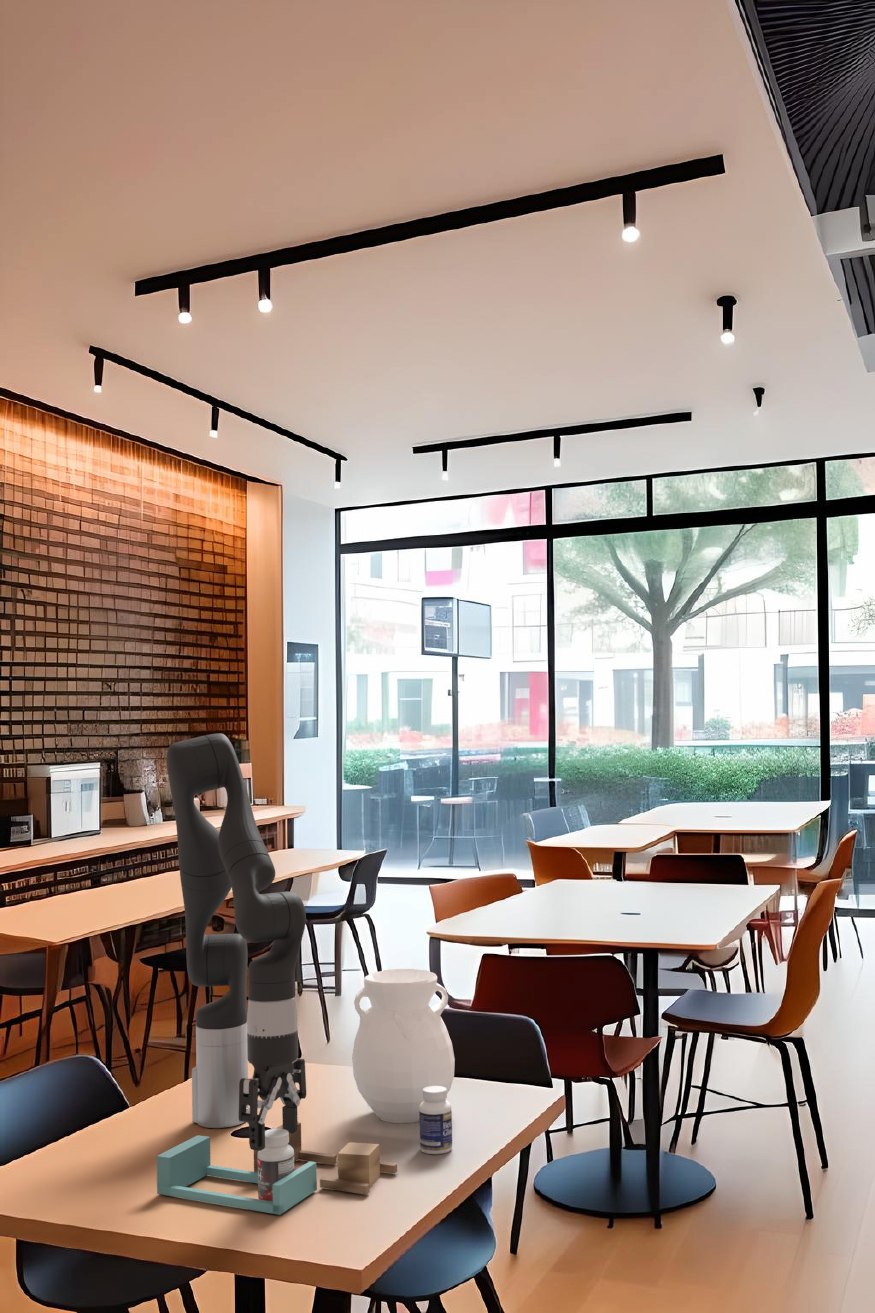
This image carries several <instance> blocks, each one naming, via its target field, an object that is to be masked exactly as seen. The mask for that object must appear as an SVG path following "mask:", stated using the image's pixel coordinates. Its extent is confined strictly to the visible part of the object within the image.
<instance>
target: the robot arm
mask: <svg viewBox="0 0 875 1313" xmlns="http://www.w3.org/2000/svg"><path fill="white" fill-rule="evenodd" d="M166 768H167V769H166V770H167V776H168V777H167V778H168V782H169V787H170V788H169V789H170V793H171V799H172V800H171V801H172V806H173V812H174V816H175V825H176V834H177V835H176V836H177V837H176V838H177V854H178V865H179V866H178V869H179V876H180V877H179V878H180V886H181V892H182V900H183V906H184V916H185V945H186V946H185V948H186V951H185V952H186V955H185V956H186V968H187V976H188V980H189V981H190V983H191V984H192V985H193V986H196V987H205V988H206V987H225V986H227V987H228V989H229V990H228V991H227V992H226V994H224V995H222V996H221V997H219V998H218V999H216V1000H214V1001H212V1002H211V1001H210V1002H209V1003H207V1004H204V1005H202V1006H200V1007H199V1008H198V1009H197V1010H196V1013H195V1043H196V1044H195V1049H196V1050H195V1051H196V1052H195V1053H196V1057H195V1058H196V1062H195V1064H196V1065H195V1066H194V1067H192V1069H191V1109H192V1110H191V1114H192V1119H191V1121H192V1122H191V1123H195V1124H197V1125H199V1126H200V1127H203V1128H207V1129H208V1128H212V1129H221V1128H231V1127H235V1126H239V1125H241V1124H243V1123H247V1124H248V1144H249V1148H250V1149H251V1150H253V1151H254V1150H258V1151H261V1150H263V1149H264V1148H265V1131H266V1129H265V1128H266V1127H265V1125H266V1124H265V1120H266V1117H267V1114H268V1111H269V1110H271V1109H272V1108H273V1105H274V1102H276V1101H277V1100H278V1099H280V1101H281V1102H282V1104H283V1106H282V1107H281V1108H282V1109H281V1110H282V1125H283V1129H285V1130H287V1131H288V1132H289V1133H295V1132H296V1131H297V1124H298V1123H299V1121H298V1107H299V1106H300V1104H301V1100H302V1099H306V1097H307V1079H306V1062H305V1061H306V1060H305V1059H304V1058H299V1027H298V1026H299V1024H298V1023H299V1022H298V1021H299V1020H298V1019H299V1018H298V1016H299V1015H298V1005H297V1001H296V1000H297V999H296V998H297V997H296V967H297V963H298V958H299V954H300V948H301V945H302V940H303V937H304V932H305V929H306V923H307V921H306V920H307V914H306V913H307V912H306V908H305V904H304V902H303V899H301V897H300V896H299V895H298V894H296V893H295V892H294V891H279V892H277V891H276V892H269V893H260V892H262V891H264V890H265V889H267V888H268V887H270V885H272V884H273V882H274V880H275V878H276V869H275V866H274V862H273V861H272V859H271V856H270V853H269V851H268V849H267V847H266V845H265V842H264V840H263V839H262V836H261V834H260V831H259V829H258V828H259V827H258V826H257V823H256V820H255V816H254V812H253V808H252V804H251V801H250V796H249V792H248V790H247V786H246V783H245V782H246V781H245V780H244V776H243V773H242V768H241V766H240V763H239V759H238V756H237V753H236V751H235V748H234V746H233V744H232V742H231V741H230V739H229V738H228V737H227V736H226V735H225V734H224V733H220V732H219V733H211V734H206V735H201V736H197V737H193V738H189V739H184V740H180V741H177V742H174V743H171V744H170V745H169V746H168V748H167V752H166ZM222 788H225V792H226V796H227V800H226V808H225V812H224V815H223V818H222V821H221V825H220V829H219V830H218V828H216V827H215V826H214V825H213V824H212V823H211V822H210V821H209V820H207V819H206V818H205V816H203V814H202V813H201V811H200V810H199V809H198V807H197V806H196V804H195V796H196V795H198V794H202V793H206V792H210V791H214V790H219V789H222ZM231 890H232V898H233V899H232V900H233V908H234V909H233V910H234V912H233V913H234V923H235V927H236V929H237V930H236V931H237V932H238V933H218V934H217V933H216V934H213V933H212V934H205V933H206V930H207V927H208V925H209V923H210V921H211V920H212V918H213V916H214V914H215V913H216V912H217V911H218V909H219V908H220V907H221V906H222V904H223V903H224V901H225V900H226V898H227V897H228V895H229V894H230V892H231ZM271 941H273V942H272V946H271V948H270V949H269V951H268V952H266V953H265V954H263V955H261V956H259V957H256V958H254V959H253V960H252V961H250V962H249V965H248V958H249V956H248V954H249V952H248V944H247V942H249V943H255V944H256V943H264V942H271ZM247 980H248V983H247ZM247 984H248V985H247ZM247 986H248V988H247ZM247 989H248V990H247ZM247 991H248V992H247ZM247 993H248V996H247ZM247 997H248V1003H247ZM248 1064H251V1065H252V1066H253V1074H252V1077H251V1078H249V1067H248V1066H249V1065H248ZM296 1084H298V1087H299V1089H298V1088H297V1086H296ZM258 1098H260V1099H258ZM258 1109H260V1110H259V1112H258Z"/></svg>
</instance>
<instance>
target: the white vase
mask: <svg viewBox="0 0 875 1313" xmlns="http://www.w3.org/2000/svg"><path fill="white" fill-rule="evenodd" d="M363 985H364V987H363V988H361V990H359V991H358V992H357V993H356V994H355V998H354V1000H353V1006H354V1009H355V1012H356V1013H357V1014H358V1017H359V1026H358V1028H357V1031H356V1034H355V1038H354V1040H353V1048H352V1057H351V1058H352V1059H351V1060H352V1072H353V1078H354V1081H355V1084H356V1087H357V1090H358V1092H359V1094H360V1095H361V1097H362V1098H363V1099H364V1101H365V1103H366V1104H367V1106H368V1107H369V1108H370V1109H371V1110H372V1112H373V1113H374V1114H375V1115H376V1116H377V1117H378V1119H379V1120H382V1121H383V1122H387V1123H393V1124H411V1123H412V1124H413V1123H415V1122H416V1123H417V1122H419V1106H420V1104H421V1103H422V1102H423V1101H424V1099H423V1089H424V1088H425V1087H429V1086H442V1087H445V1088H446V1089H447V1095H448V1094H449V1092H450V1090H451V1088H452V1084H453V1081H454V1078H455V1061H456V1058H455V1054H454V1048H453V1042H452V1040H451V1038H450V1035H449V1031H448V1029H447V1026H446V1024H445V1022H444V1020H443V1018H442V1016H441V1015H442V1014H443V1011H444V1010H445V1009H446V1008H447V1006H448V1002H449V995H448V991H447V989H446V988H445V987H444V986H442V985H441V984H439V983H438V975H437V974H436V973H435V972H432V971H429V970H424V969H417V968H416V969H414V968H394V969H393V968H392V969H385V970H380V971H376V972H372V973H369V974H367V975H366V976H365V977H364V979H363ZM436 992H439V993H440V994H441V1000H440V1001H439V1002H438V1003H437V1004H435V1005H433V1006H432V1007H431V1005H430V1002H431V999H432V998H433V996H434V994H435V993H436ZM363 997H364V998H365V997H367V998H368V999H369V1002H370V1007H369V1008H368V1009H366V1010H364V1009H363V1008H362V1007H361V1005H360V1002H361V1000H362V998H363Z"/></svg>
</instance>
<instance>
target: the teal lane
mask: <svg viewBox="0 0 875 1313" xmlns="http://www.w3.org/2000/svg"><path fill="white" fill-rule="evenodd" d="M317 1175H318V1174H317V1162H311V1161H307V1163H305V1164H302V1165H301V1166H300V1167H298V1168H296V1169H294V1171H293V1172H292V1173H290V1174H289V1175H287V1176H285V1177H284V1178H282V1179H281V1180H279V1181H277V1182H276V1183H274V1184H273V1185H272V1188H273V1202H271V1201H266V1200H260V1199H258V1198H253V1197H246V1196H242V1195H235V1194H229V1193H222V1192H216V1191H210V1190H205V1189H199V1188H193V1187H189V1186H190V1185H192V1184H194V1183H195V1182H196V1181H199V1180H201V1179H202V1178H204V1177H206V1176H210V1177H217V1178H221V1179H222V1178H223V1179H229V1180H233V1181H234V1180H235V1181H241V1182H247V1183H254V1184H258V1172H254V1171H250V1170H243V1169H237V1168H232V1167H231V1168H230V1167H225V1166H218V1165H213V1164H211V1136H206V1135H194V1136H193V1137H191V1138H189V1139H188V1140H186V1141H184V1142H181V1143H180V1144H178V1145H175V1146H174V1147H171V1148H170V1149H168V1150H165V1151H163V1152H162V1153H160V1154H158V1155H156V1194H157V1195H163V1196H167V1197H174V1198H180V1199H186V1200H193V1201H198V1202H203V1203H209V1204H210V1203H211V1204H214V1205H220V1206H228V1207H233V1208H238V1209H243V1210H250V1211H255V1212H262V1213H267V1214H272V1215H278V1216H279V1215H282V1214H284V1213H285V1212H287V1211H288V1210H289V1209H291V1208H292V1207H294V1206H295V1205H297V1204H298V1203H300V1202H301V1201H303V1200H304V1199H305V1198H307V1197H308V1196H310V1195H311V1194H313V1193H315V1192H316V1191H317V1190H318V1187H317V1186H318V1184H317V1183H318V1182H317V1181H318V1180H317V1178H318V1177H317Z"/></svg>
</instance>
